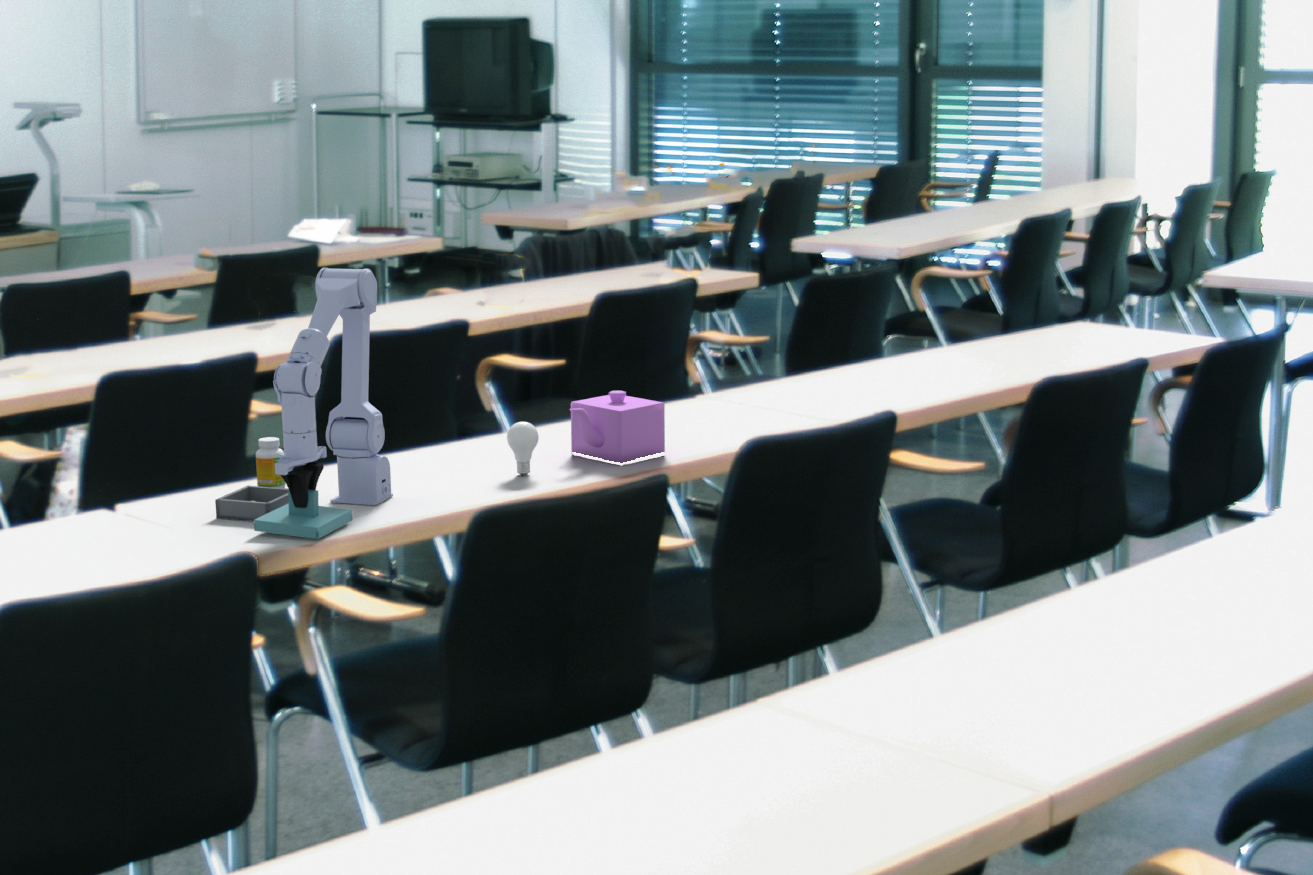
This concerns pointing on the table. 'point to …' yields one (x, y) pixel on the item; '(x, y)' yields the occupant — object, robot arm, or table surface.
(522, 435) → the lightbulb
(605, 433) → the teapot
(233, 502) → the tub
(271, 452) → the supplement bottle
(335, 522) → the lid
